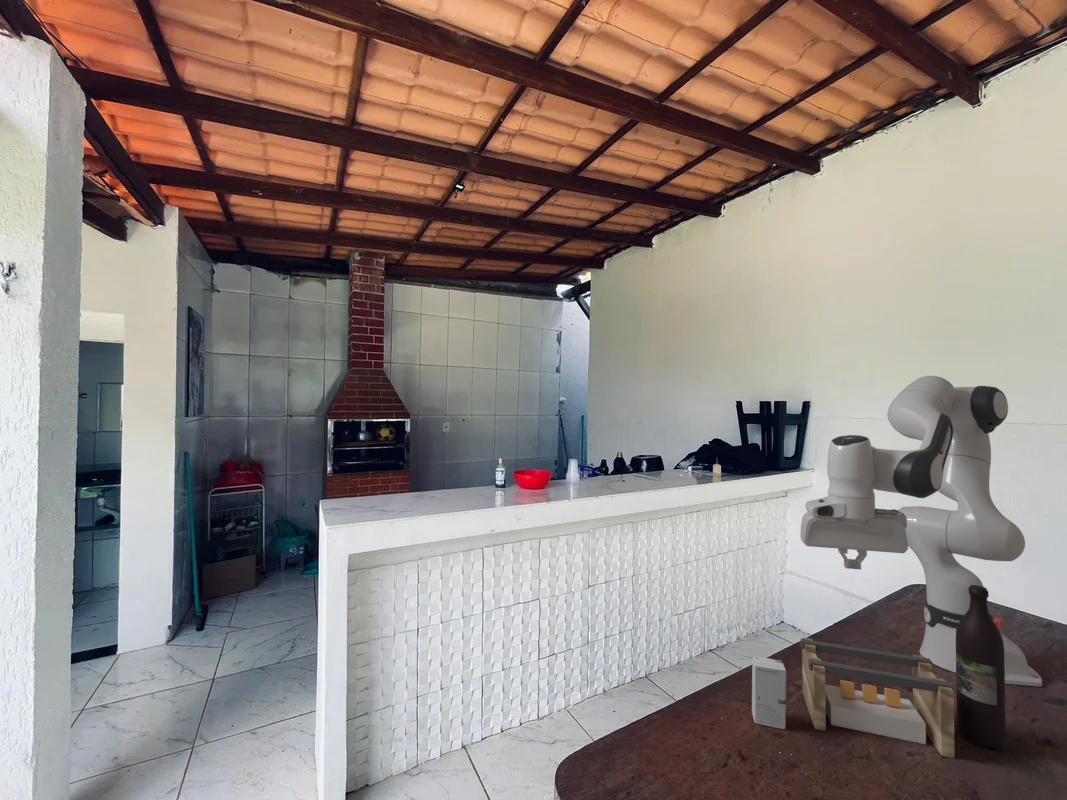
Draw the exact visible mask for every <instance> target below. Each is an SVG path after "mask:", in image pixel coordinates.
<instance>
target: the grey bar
mask: <svg viewBox="0 0 1067 800" xmlns="http://www.w3.org/2000/svg"><path fill="white" fill-rule="evenodd" d="M813 665H819V666H824V668H825V674H830V675H835V676H842V677H846V678H852V679H859V680H864V681H865V680H866V681H870V682H875V683H881V684H886V685H892V686H898V687H905V688H911V689H913V688H915V689H921V690H927V691H932V692H938V686H943V687H949V688H952V690H953V691H954V692H955V686H954V685H953V683H951V682H950V681H946V680H945V681H940V680H934V679H928V678H922V677H916V676H913V675H910V674H909V675H907V674H904V673H897V672H891V671H883V670H881V669H873V668H866V667H860V666H854V665H848V664H842V663H837V662H831V661H824V660H821V661H820V660H814V659H808V666H809V669H810V670H812V671H813Z"/></svg>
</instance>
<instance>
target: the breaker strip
mask: <svg viewBox="0 0 1067 800" xmlns="http://www.w3.org/2000/svg"><path fill="white" fill-rule="evenodd" d="M877 698H878V703H873V702H867V701H864V700H863V694H862V690H858V689H855V699H851V698H846V697H842V696H841V689H840V686H836V685H830V684H825V708H826V715H827V717H828V720H829V723H830V725H832V726H835V727H839V728H846V729H850V730H855V731H859V732H865V733H870V734H873V735H879V736H882V737H883V736H884V737H887V738H888V737H889V738H892V739H897V738H898V740H902V741H903V740H904V741H907V740H908V742H913V743H917V742H918V744H922V745H927V733H926V724H925V722H924V721H923V719H922V718H921V716H920V715H919V713H918V712H917V710H916V709H915V707H914V706H913V702H911V700H910V699H907V698H903V697H902V698H901V697H900V700H901V708H899V707H894V706H889V705H886V703H885V694H880V693H877Z"/></svg>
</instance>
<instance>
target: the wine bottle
mask: <svg viewBox="0 0 1067 800" xmlns="http://www.w3.org/2000/svg"><path fill="white" fill-rule="evenodd" d="M969 594H970V606H969V610H968V611H967V613H966V614H965V615H964V617H963V618H962V619H961V620H960V622H959V623H958V626H957V629H956V673H955V686H956V691H955V693H956V695H955V696H956V697H955V698H956V729H957V731H958V733H959V734H960V735H961V736H962V737H963V738H964V739H966V740H967V741H969V742H970V743H973V744H975V745H977V746H980V747H982V748H986V749H989V750H1003V749H1004V748H1005V746H1006V744H1007V742H1006V740H1007V739H1006V736H1007V735H1006V731H1007V730H1006V729H1007V727H1006V684H1005V663H1004V643H1003V639H1002V636H1001V634H1002V633H1001V632H1000V630H999V628H997V626H996V625H995V623H994V622H993V620H992V618H991V616H990V615H989V614H990V613H989V612H990V611H989V608H988V598H989V591H988V588H986V587H985V586H983V587H982V586H977V585H970V587H969Z"/></svg>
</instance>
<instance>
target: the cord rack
mask: <svg viewBox="0 0 1067 800" xmlns="http://www.w3.org/2000/svg"><path fill="white" fill-rule="evenodd" d="M801 639H806V640H812V641H814V640H813V638H808V637H802V638H801ZM801 652H802V653H801V659H802V660H801V661H802V663H801V664H802V665H801V667H802V670H801V671H802V677H801V679H802V695H803V694H804V695H803V698H804V700H805V703H806V707H807V711H808V712H809V716H810V719H811V723H812V724H813V725H812V726H813V727H814V728H813V729H816V730H820V731H825V732H826V731H827V728H826V727H827V726H826V724H827V721H826V719H827V717H826V715H827V712H826V708H825V685H826V673H825V668H824V666H819V665H813V671H812V670H810V669H809V666H808V659H814V660H820V661H822V659H821V658H818V656H817V653H816V652H817V651H816V647H815V645H809V644H805V650H804V649H802V648H801ZM911 656H916V657H923V658H925V657H924V656H922V655H921V654H920V655H918V654H912V655H911ZM912 676H916V677H922V678H928V679H934V680H940V681H946V679H943V678H939V677H938V678H937V677H936V676H935V674H934V672H933V670H932V665H931V664H930V663H924V662H918V668H916V667H912ZM954 696H955V690H954V691H953V690H952V688H949V687H943V686H938V692H932V691H927V690H921V689H915V688H912V705H913V706H914V707H915V709H916V710H917V712H918V713H919V715H920V716H921V718H922V719H923V721H924V722H925V724H926V735H927V736H928V737H929V739H930V740H931V743H933V746H935V748H936V750H938V753H939V754H940V755H941V757H942V756H943V757H947V758H952V759H955V758H956V757H955V753H956V752H955V709H954V708H955V702H954V701H955V700H954V699H955V697H954Z"/></svg>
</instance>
